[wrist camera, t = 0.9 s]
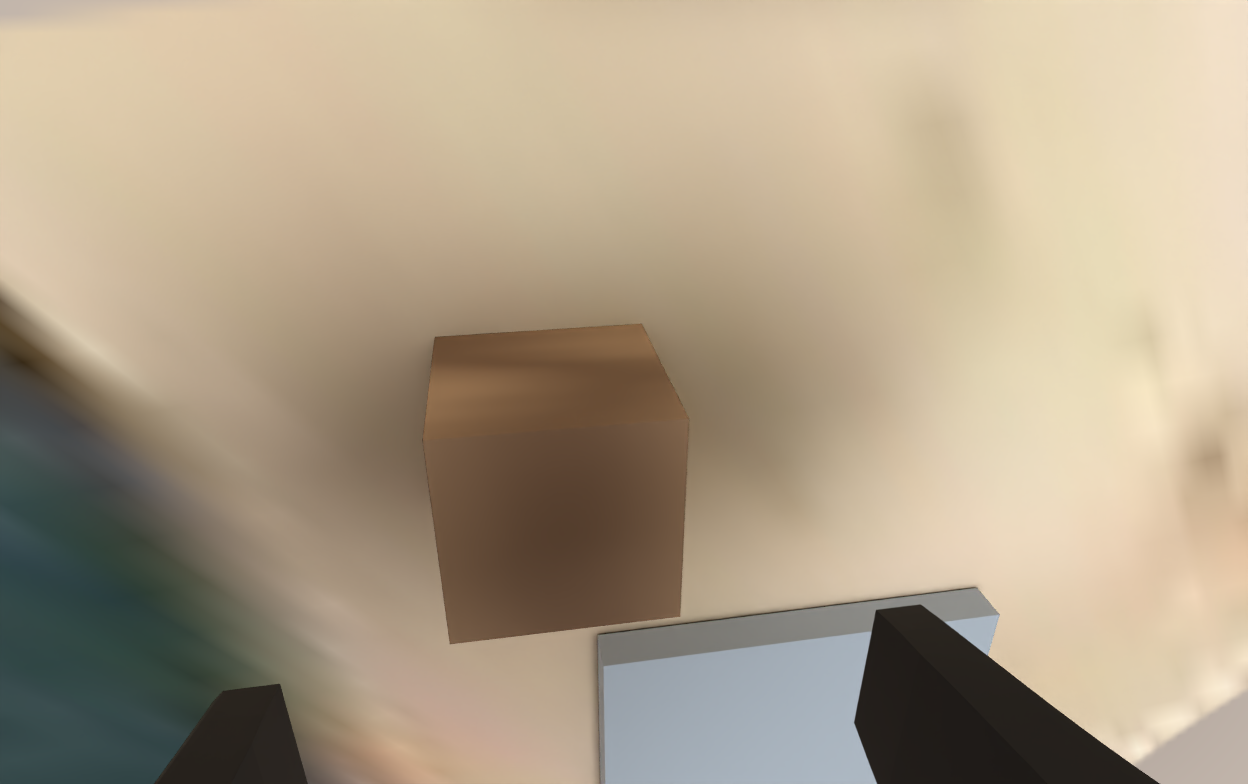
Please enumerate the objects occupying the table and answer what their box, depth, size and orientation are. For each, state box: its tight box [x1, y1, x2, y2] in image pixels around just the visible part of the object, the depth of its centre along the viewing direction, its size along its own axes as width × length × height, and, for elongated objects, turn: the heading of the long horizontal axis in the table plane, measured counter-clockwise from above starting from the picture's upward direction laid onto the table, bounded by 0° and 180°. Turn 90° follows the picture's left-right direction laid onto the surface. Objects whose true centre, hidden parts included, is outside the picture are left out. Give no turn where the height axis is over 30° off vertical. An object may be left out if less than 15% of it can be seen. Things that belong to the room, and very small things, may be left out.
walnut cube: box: [423, 324, 689, 644], centre depth 14 cm, size 4×4×4 cm
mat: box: [598, 588, 1000, 784], centre depth 22 cm, size 10×10×1 cm
